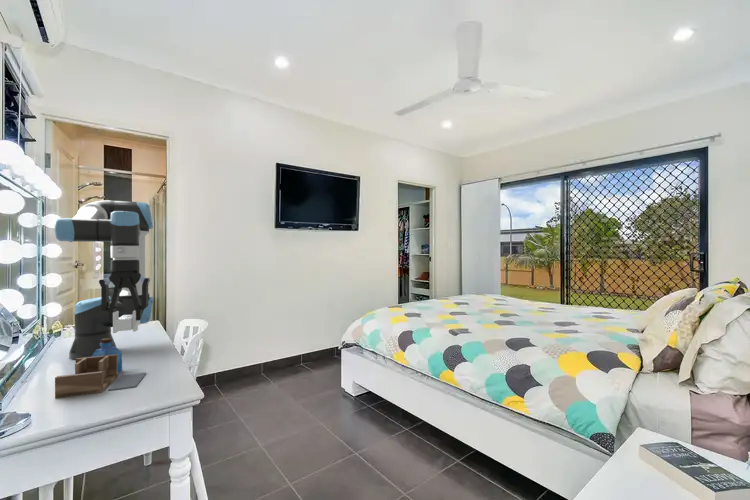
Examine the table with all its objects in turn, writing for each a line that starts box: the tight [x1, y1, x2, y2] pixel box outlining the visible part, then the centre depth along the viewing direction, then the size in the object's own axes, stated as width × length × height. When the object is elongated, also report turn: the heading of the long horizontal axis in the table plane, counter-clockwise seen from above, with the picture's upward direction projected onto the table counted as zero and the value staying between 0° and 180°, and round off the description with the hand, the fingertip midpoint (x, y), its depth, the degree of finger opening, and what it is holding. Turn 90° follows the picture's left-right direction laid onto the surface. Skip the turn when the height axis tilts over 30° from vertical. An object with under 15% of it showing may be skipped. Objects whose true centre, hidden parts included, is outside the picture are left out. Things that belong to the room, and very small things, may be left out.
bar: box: [114, 314, 141, 332], centre depth 112 cm, size 10×5×4 cm, turn 21°
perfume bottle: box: [91, 338, 123, 373], centre depth 120 cm, size 6×6×12 cm
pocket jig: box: [54, 354, 119, 399], centre depth 108 cm, size 14×11×8 cm
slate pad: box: [107, 372, 147, 391], centre depth 111 cm, size 13×7×1 cm, turn 21°
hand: (125, 331), depth 110 cm, fingers closed on bar, 5 cm apart
